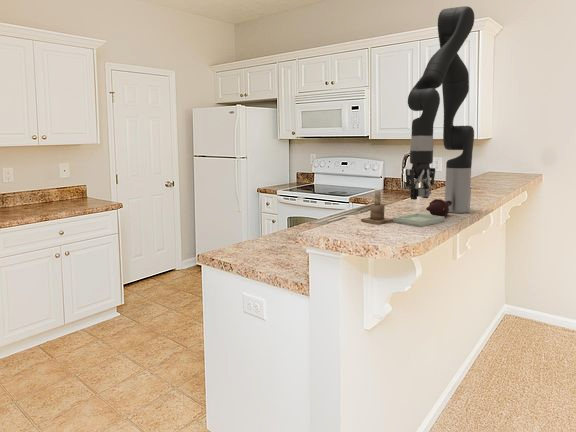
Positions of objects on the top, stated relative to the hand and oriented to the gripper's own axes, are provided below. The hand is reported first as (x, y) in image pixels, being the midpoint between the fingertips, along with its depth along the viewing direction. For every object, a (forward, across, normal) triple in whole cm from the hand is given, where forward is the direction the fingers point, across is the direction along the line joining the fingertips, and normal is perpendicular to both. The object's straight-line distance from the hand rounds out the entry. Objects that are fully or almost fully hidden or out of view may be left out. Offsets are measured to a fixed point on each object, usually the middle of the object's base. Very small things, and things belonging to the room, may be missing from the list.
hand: (419, 198), depth 160 cm
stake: (+8, -10, +10) cm, 17 cm away
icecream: (+8, +14, +2) cm, 17 cm away
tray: (+8, 0, 0) cm, 8 cm away
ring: (-1, 0, 0) cm, 1 cm away
